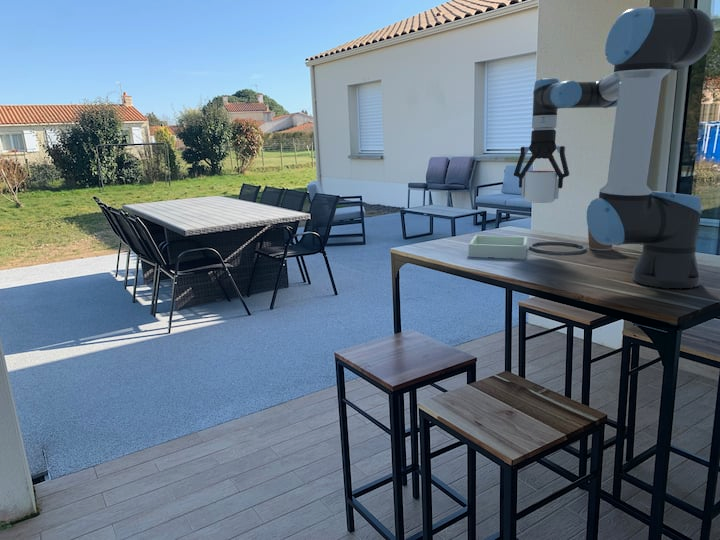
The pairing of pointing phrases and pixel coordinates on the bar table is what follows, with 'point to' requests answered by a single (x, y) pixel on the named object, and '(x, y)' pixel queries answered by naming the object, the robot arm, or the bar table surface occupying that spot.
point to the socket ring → (582, 250)
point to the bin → (498, 247)
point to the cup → (540, 186)
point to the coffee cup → (597, 244)
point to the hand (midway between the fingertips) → (539, 197)
